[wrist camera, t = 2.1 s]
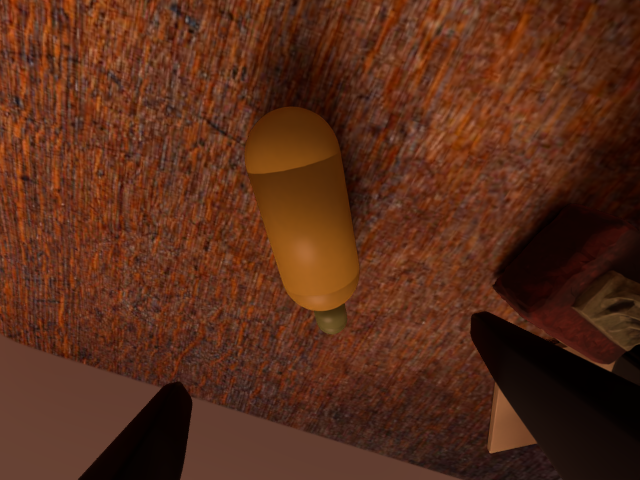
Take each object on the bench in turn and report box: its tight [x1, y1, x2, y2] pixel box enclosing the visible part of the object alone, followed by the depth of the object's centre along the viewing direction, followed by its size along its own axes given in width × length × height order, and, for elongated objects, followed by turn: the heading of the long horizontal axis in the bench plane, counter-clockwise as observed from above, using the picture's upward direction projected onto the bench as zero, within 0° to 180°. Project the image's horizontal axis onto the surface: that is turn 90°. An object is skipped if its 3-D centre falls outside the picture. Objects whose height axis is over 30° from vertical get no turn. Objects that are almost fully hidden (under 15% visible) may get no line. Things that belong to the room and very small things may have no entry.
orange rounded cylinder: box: [245, 106, 360, 334], centre depth 15 cm, size 14×5×5 cm, turn 11°
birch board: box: [487, 343, 616, 453], centre depth 28 cm, size 11×15×1 cm
